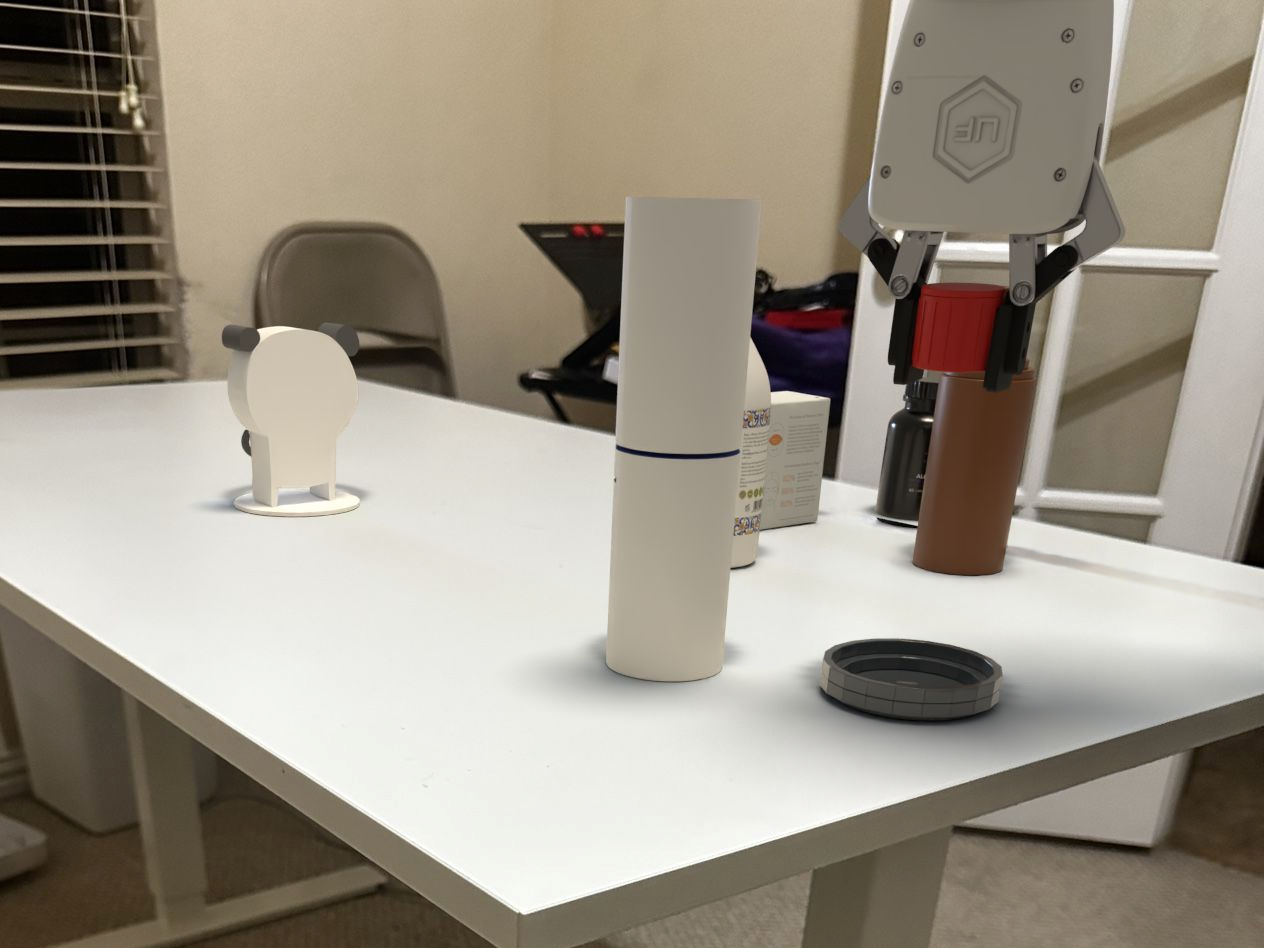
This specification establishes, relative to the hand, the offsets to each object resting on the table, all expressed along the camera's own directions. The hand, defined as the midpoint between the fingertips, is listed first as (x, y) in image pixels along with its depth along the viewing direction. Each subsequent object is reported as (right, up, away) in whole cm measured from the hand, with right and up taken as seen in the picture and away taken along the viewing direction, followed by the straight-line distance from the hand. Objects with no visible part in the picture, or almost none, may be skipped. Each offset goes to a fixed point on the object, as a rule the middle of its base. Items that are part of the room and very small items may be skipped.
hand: (952, 382), depth 71 cm
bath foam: (-8, +2, +38) cm, 39 cm away
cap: (0, 0, -1) cm, 1 cm away
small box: (-1, +9, +52) cm, 53 cm away
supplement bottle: (+12, +9, +53) cm, 55 cm away
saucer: (0, -15, +8) cm, 17 cm away
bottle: (+12, +1, +38) cm, 40 cm away
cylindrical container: (-14, -12, +13) cm, 23 cm away
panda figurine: (-44, +12, +55) cm, 71 cm away
